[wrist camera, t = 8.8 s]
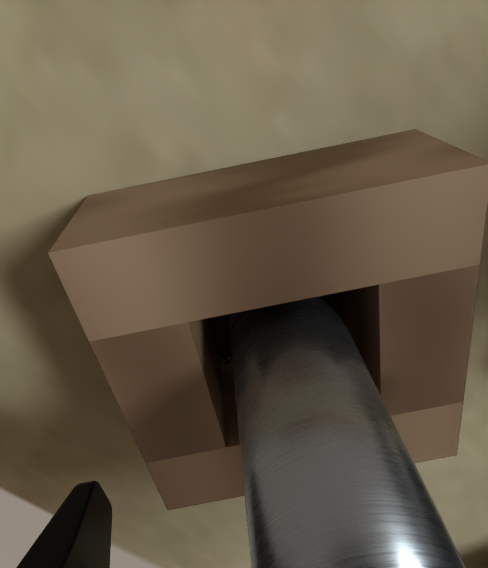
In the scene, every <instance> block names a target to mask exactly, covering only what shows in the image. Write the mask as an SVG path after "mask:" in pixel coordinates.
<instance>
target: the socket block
mask: <svg viewBox="0 0 488 568" xmlns="http://www.w3.org/2000/svg"><path fill="white" fill-rule="evenodd" d="M487 202H488V161H486V160H483V159H481V158H479V157H477V156H474V155H472V154H470V153H468V152H465V151H463V150H461V149H459V148H457V147H454V146H452V145H450V144H448V143H445V142H443V141H441V140H439V139H436V138H434V137H432V136H430V135H427V134H425V133H423V132H421V131H419V130H416V129H415V130H410V131H405V132H400V133H395V134H390V135H385V136H380V137H375V138H370V139H365V140H361V141H356V142H351V143H346V144H341V145H336V146H331V147H326V148H321V149H316V150H311V151H306V152H301V153H297V154H292V155H287V156H282V157H277V158H272V159H267V160H262V161H257V162H252V163H247V164H242V165H237V166H233V167H228V168H223V169H218V170H213V171H208V172H203V173H198V174H193V175H188V176H183V177H178V178H173V179H169V180H164V181H159V182H154V183H149V184H144V185H139V186H134V187H129V188H124V189H119V190H114V191H109V192H105V193H100V194H95V195H90V196H87V197H86V199H85V200H84V202H83V203H82V205H81V206H80V207H79V209H78V210H77V212H76V213H75V215H74V216H73V218H72V219H71V220H70V222H69V223H68V225H67V226H66V228H65V229H64V230H63V232H62V233H61V235H60V236H59V238H58V239H57V240H56V242H55V243H54V245H53V246H52V248H51V249H50V251H49V252H48V254H49V257H50V259H51V261H52V263H53V265H54V267H55V269H56V272H57V274H58V276H59V278H60V280H61V282H62V285H63V287H64V289H65V291H66V293H67V295H68V297H69V300H70V302H71V304H72V306H73V308H74V310H75V312H76V315H77V317H78V319H79V321H80V323H81V325H82V328H83V330H84V332H85V334H86V336H87V338H88V340H89V343H90V345H91V347H92V349H93V351H94V353H95V355H96V358H97V360H98V362H99V364H100V366H101V368H102V371H103V373H104V375H105V377H106V379H107V381H108V383H109V386H110V388H111V390H112V392H113V394H114V396H115V398H116V401H117V403H118V405H119V407H120V409H121V411H122V414H123V416H124V418H125V420H126V422H127V424H128V426H129V429H130V431H131V433H132V435H133V437H134V439H135V442H136V444H137V446H138V448H139V450H140V452H141V454H142V457H143V459H144V461H145V463H146V465H147V467H148V469H149V472H150V474H151V476H152V478H153V480H154V482H155V485H156V487H157V489H158V491H159V493H160V495H161V497H162V500H163V502H164V504H165V506H166V508H167V510H171V509H177V508H182V507H187V506H192V505H198V504H203V503H208V502H213V501H219V500H224V499H229V498H234V497H240V496H245V493H244V482H243V472H242V461H241V450H240V440H239V429H238V419H237V408H236V397H235V387H234V376H233V365H232V362H231V363H226V364H221V362H220V359H219V355H218V351H217V348H216V344H215V340H214V337H213V333H212V329H211V326H210V322H209V318H211V317H216V316H222V315H227V314H232V313H237V312H242V311H247V310H252V309H257V308H262V307H267V306H272V305H277V304H282V303H287V302H292V301H297V300H303V299H308V298H313V297H318V296H323V295H328V294H333V293H338V292H342V305H343V319H344V323H345V325H346V327H347V329H348V331H349V333H350V335H351V337H352V339H353V341H354V343H355V345H356V347H357V349H358V351H359V353H360V355H361V357H362V359H363V361H364V363H365V365H366V367H367V369H368V371H369V373H370V375H371V377H372V379H373V381H374V383H375V385H376V387H377V389H378V391H379V393H380V395H381V397H382V399H383V401H384V403H385V405H386V407H387V409H388V411H389V413H390V415H391V417H392V419H393V421H394V424H395V426H396V428H397V430H398V432H399V434H400V436H401V438H402V440H403V442H404V444H405V446H406V448H407V450H408V452H409V454H410V456H411V458H412V460H413V462H414V463H418V462H423V461H428V460H433V459H439V458H444V457H449V456H454V455H457V449H458V441H459V433H460V425H461V417H462V408H463V400H464V392H465V384H466V375H467V367H468V359H469V351H470V342H471V334H472V326H473V318H474V309H475V301H476V293H477V285H478V277H479V268H480V260H481V252H482V244H483V235H484V227H485V219H486V211H487Z"/></svg>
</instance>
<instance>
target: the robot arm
mask: <svg viewBox="0 0 488 568" xmlns="http://www.w3.org/2000/svg"><path fill="white" fill-rule="evenodd" d="M111 528H112V507H111V504H110V501H109V500H108V498H107V496H106V494H105V493H104V491H103V489H102V487H101V486H100V484H99V483H98V482H96V481H90V482H85V483H80V484H78V485H76V486H75V487H74V488H73V489H72V491H71V492H70V494H69V495H68V496H67V498H66V499H65V501H64V502H63V503H62V505H61V506H60V508H59V509H58V510H57V512H56V513H55V515H54V516H53V517H52V519H51V520H50V522H49V523H48V524H47V526H46V527H45V529H44V530H43V531H42V533H41V534H40V536H39V537H38V538H37V540H36V541H35V542H34V544H33V545H32V547H31V548H30V550H29V551H28V552H27V554H26V555H25V556H24V558H23V559H22V561H21V562H20V563H19V565H18V566H17V568H110V548H111Z"/></svg>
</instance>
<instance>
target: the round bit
mask: <svg viewBox="0 0 488 568" xmlns="http://www.w3.org/2000/svg"><path fill="white" fill-rule="evenodd" d="M228 323H229V333H230V344H231V355H232V365H233V376H234V387H235V397H236V408H237V419H238V429H239V440H240V450H241V461H242V472H243V482H244V493H245V504H246V514H247V525H248V536H249V546H250V557H251V567H252V568H466V567H465V565H464V563H463V561H462V559H461V557H460V555H459V553H458V551H457V549H456V547H455V545H454V543H453V541H452V539H451V537H450V535H449V533H448V531H447V529H446V526H445V524H444V522H443V520H442V518H441V516H440V514H439V512H438V510H437V508H436V506H435V504H434V502H433V500H432V498H431V496H430V494H429V492H428V490H427V488H426V486H425V484H424V482H423V480H422V478H421V476H420V474H419V472H418V470H417V468H416V466H415V464H414V462H413V460H412V458H411V456H410V454H409V452H408V450H407V448H406V446H405V444H404V442H403V440H402V438H401V436H400V434H399V432H398V430H397V428H396V426H395V424H394V421H393V419H392V417H391V415H390V413H389V411H388V409H387V407H386V405H385V403H384V401H383V399H382V397H381V395H380V393H379V391H378V389H377V387H376V385H375V383H374V381H373V379H372V377H371V375H370V373H369V371H368V369H367V367H366V365H365V363H364V361H363V359H362V357H361V355H360V353H359V351H358V349H357V347H356V345H355V343H354V341H353V339H352V337H351V335H350V333H349V331H348V329H347V327H346V325H345V323H344V321H343V319H342V316H341V314H340V312H339V310H338V308H337V306H336V304H335V302H334V300H333V298H332V296H331V294H328V295H323V296H318V297H313V298H308V299H303V300H297V301H292V302H287V303H282V304H277V305H272V306H267V307H262V308H257V309H252V310H247V311H242V312H237V313H232V314H228Z"/></svg>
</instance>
